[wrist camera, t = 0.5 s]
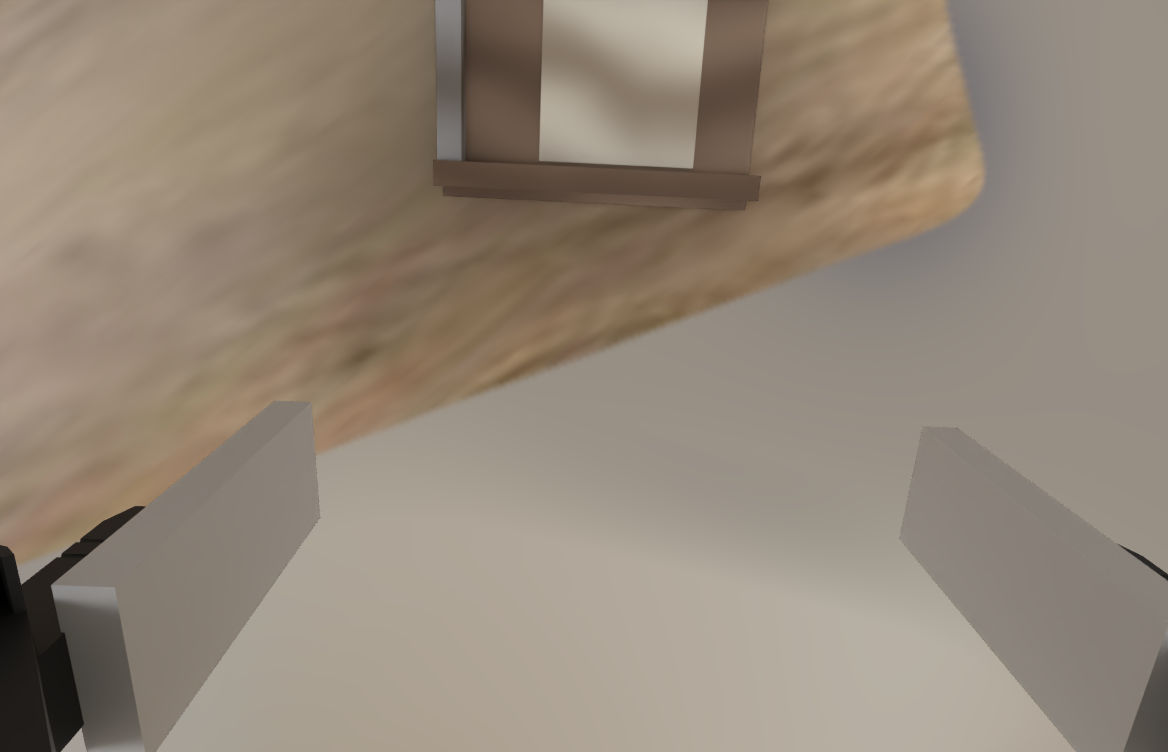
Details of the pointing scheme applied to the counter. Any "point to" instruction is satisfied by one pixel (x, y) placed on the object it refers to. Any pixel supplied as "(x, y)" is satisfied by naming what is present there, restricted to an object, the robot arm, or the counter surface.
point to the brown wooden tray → (599, 100)
